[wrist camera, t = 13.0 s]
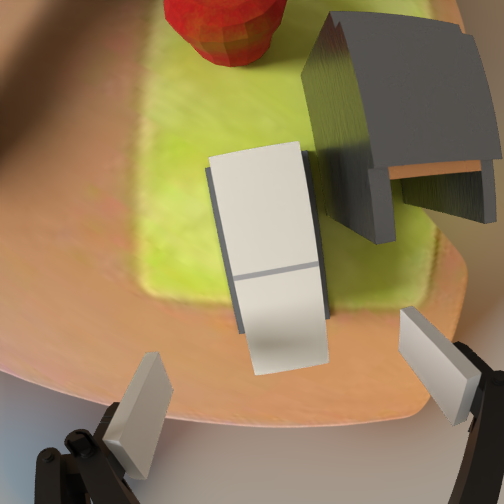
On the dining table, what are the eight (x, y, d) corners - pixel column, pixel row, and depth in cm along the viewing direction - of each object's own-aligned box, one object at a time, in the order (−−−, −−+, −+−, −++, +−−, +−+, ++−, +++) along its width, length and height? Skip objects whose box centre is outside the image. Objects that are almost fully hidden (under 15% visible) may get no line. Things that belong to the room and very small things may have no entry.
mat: (239, 331, 30) (239, 334, 30) (206, 168, 27) (205, 168, 26) (328, 316, 30) (329, 318, 29) (306, 150, 26) (307, 150, 26)
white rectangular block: (255, 313, 29) (255, 376, 20) (226, 164, 26) (208, 157, 16) (307, 304, 29) (329, 363, 19) (283, 154, 26) (299, 140, 16)
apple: (177, 73, 25) (132, 18, 13) (199, 3, 23) (173, -69, 11) (269, 86, 25) (278, 29, 13) (286, 14, 23) (300, -60, 11)
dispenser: (326, 214, 28) (383, 248, 15) (300, 75, 24) (333, 2, 11) (413, 201, 27) (506, 224, 14) (390, 71, 24) (466, 19, 11)
